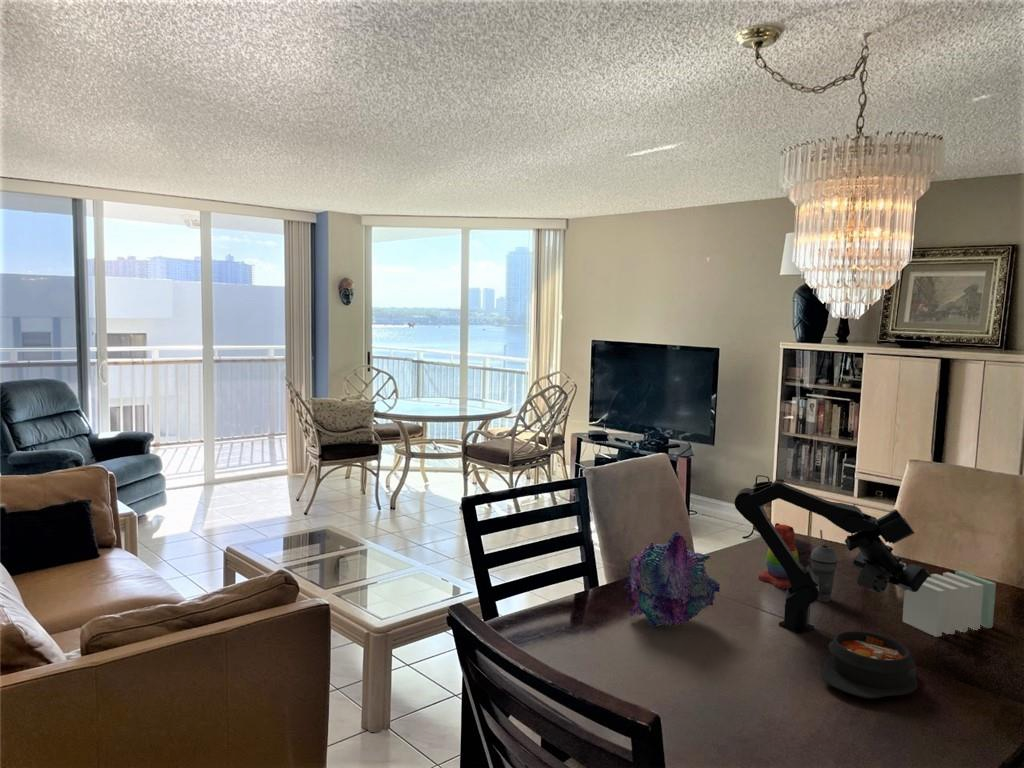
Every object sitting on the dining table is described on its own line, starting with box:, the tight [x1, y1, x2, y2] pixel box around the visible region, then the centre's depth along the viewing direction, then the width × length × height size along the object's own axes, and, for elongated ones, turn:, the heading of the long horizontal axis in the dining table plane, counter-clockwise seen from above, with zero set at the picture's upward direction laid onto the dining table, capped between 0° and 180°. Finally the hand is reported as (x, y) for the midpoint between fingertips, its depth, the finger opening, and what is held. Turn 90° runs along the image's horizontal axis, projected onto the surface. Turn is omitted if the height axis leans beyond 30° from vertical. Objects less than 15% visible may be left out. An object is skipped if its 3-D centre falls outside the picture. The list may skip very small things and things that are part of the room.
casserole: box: [820, 630, 919, 700], centre depth 155 cm, size 25×19×8 cm
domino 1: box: [902, 582, 945, 638], centre depth 184 cm, size 2×10×12 cm, turn 19°
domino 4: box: [942, 571, 983, 631], centre depth 188 cm, size 2×10×12 cm, turn 19°
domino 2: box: [925, 577, 958, 635], centre depth 185 cm, size 2×10×12 cm, turn 19°
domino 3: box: [929, 573, 971, 633], centre depth 186 cm, size 2×10×12 cm, turn 19°
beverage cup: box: [809, 529, 839, 603], centre depth 203 cm, size 7×7×20 cm
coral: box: [623, 530, 721, 628], centre depth 183 cm, size 25×21×25 cm
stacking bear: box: [758, 522, 800, 590], centre depth 216 cm, size 11×10×18 cm
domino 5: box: [954, 570, 997, 629], centre depth 189 cm, size 2×10×12 cm, turn 19°
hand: (905, 588), depth 181 cm, fingers closed
